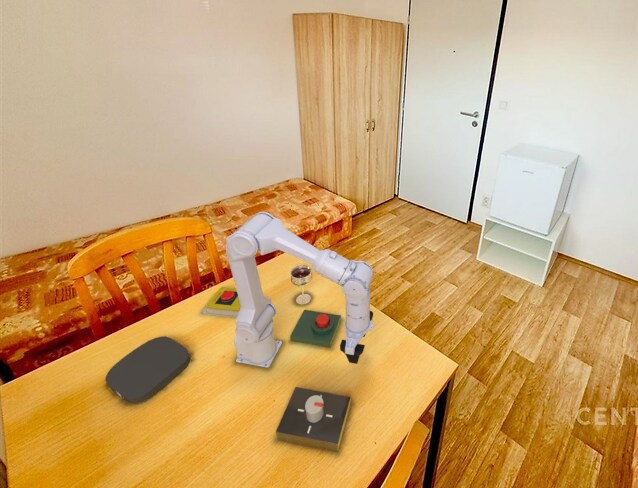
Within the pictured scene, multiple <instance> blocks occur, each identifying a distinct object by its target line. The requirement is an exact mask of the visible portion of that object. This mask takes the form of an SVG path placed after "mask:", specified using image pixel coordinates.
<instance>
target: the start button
mask: <svg viewBox="0 0 638 488" xmlns="http://www.w3.org/2000/svg"><path fill="white" fill-rule="evenodd" d="M316 322H317V326H318V327H320V328H324V327H326V326H327V325H328V324H329V317H328V315H326V314H321V315H319V316H318V317H317V319H316Z"/></svg>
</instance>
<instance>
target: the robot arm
mask: <svg viewBox="0 0 638 488" xmlns="http://www.w3.org/2000/svg"><path fill="white" fill-rule="evenodd" d="M225 240H226V246H225V253H226V257H227V260H228V265H229V268H230V271H231V276H232V279H233V283H234V286H235V288H236V290H237V293H238V297H239V301H240V304H241V309H240V311H239V314H238V316H237V318H235V325H236V327H235V330H234V332H235V336H234V340H233V341H234V348H235V352H236V356H237V357H236V360H235V362H236V363H239V364H245V365H250V366H256V367H260V368H261V367H262V368H270V367H271V365H272V363H273V361H274V359H275V357H276V355H277V354H278V351H279V350H280V348H281V346H282V344H283V341H281V340H278V339H277V340H276V338H275V332H274V325H273V323H274V317H275V316H276V314H277V308H276V306H275V305H274V304H273V302H272V299H271V297H269V296H266V295H264V292H263V288H262V284H261V278H260V274H259V269H258V265H257V261H256V255H257V254H258V252H259V251H260V256H264V255H267V254H270V253H273V252H276V251H280V252H283V253H285V254H287V255H290V256H292V257H295V258H297V259H299V260H301V261H303V262H306V263H308V264H311V265H312V269H313V271H314V273H315V274H318V275H320V276H321V277H323V278H325V279H326V280H329V281H331V282H332V283H335V284H336V285H339V286H340V288H341V291H342V293H343V294H344V295H345V321H344V330H345V331H344V333H345V339H341V342H340V344H339V350H340V352H342V353H343V354H344V355H345V356H346V359H347V361H348V362H349V364H355V365H357V364H358V362H359V361H360V360H359V359H360V356H361V355H363V352H364V350H365V347H366V345H365V344H362V343H360V341H361V340H362V339H363V338H365V337H366V335H367V332H368V331H373V330H374V328H375V322H374V321H372V320H373V318H374V312H373V310H371V283H372V280H373V278H374V273H375V272H374V269H373V267H372V266H371V265H370V264H369V263H367V262H366V261H364V260H354V259H348V258H346V257H344V256H343V255H341V254H339V253H338V252H337V251H334V250H331V249H330V248H325V249H319V248H317V247H315V246H314V245H312V244H311V243H309V242H308V241H306V240H304V239H303V238H301V237H300V236H298V235H296V234H295V233H293V232H292V231H291V230H289V229H287V228H286V227H285V226H284V224H283V222H282V219H280V218H278V217H275V216H274V215H273V214H272V213H269V212H267V211H259V212H256V213H255V214H254V215H253V216H251V217H250V218H249V219H247V221H246V222H245V223H243V225H241V226H240V227H239V228H238V229H236V230H235V231H234V232H233V233H231V234H230V235H228V236H227V237H226V239H225Z"/></svg>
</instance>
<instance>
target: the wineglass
mask: <svg viewBox="0 0 638 488" xmlns="http://www.w3.org/2000/svg"><path fill="white" fill-rule="evenodd" d="M312 270H313V268H311V266H309V265H307V264H299V265H296V266H294V267H293V268H291V270H290V272H289V274H290V282H291V283H292V284H293V285H294V286H296V287H300V288H301V294H299V295H297V297H296V300H295V301H296V303H297V304H298V305H306V304H308V303H309V302H310V301H311V298H312V297H311V296H310V295H309V294H308V293H305V289H304V288H305V286H307V285H309V284H310V283H311V281H312V278H313V273H312V272H313V271H312Z"/></svg>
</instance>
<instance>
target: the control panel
mask: <svg viewBox="0 0 638 488" xmlns="http://www.w3.org/2000/svg"><path fill="white" fill-rule="evenodd" d="M314 395H318V396H320V397H321V398H322V399H323V403H324V415H323V417H322V418H321V419H320V420H319V421H318V422H315V423H312V422H309V421H308V420H307V418H306V410H305V404H306V401H307V400H308V399H309V398H310V397H311V396H314ZM351 400H352V399H351V396H347V395H341V394H337V393H331V392H325V391H321V390H315V389H310V388H303V387H299V386H294V388H293V392H292V394H291V396H290V399H289V400H288V403H287V405H286V408H285V410H284V412H283V414H282V417H281V419H280V421H279V423H278V426H277V428H276V430H275V434H276V439H277V440H280V441H285V442H290V443H295V444H300V445H304V446H309V447H314V448H319V449H322V450H323V449H324V450H329V451H333V452H339V448H340V446H341V442H342V437H343V434H344V431H345V427H346V423H347V421H348V420H347V419H348V416H349V412H350V409H351V402H352V401H351Z"/></svg>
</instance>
